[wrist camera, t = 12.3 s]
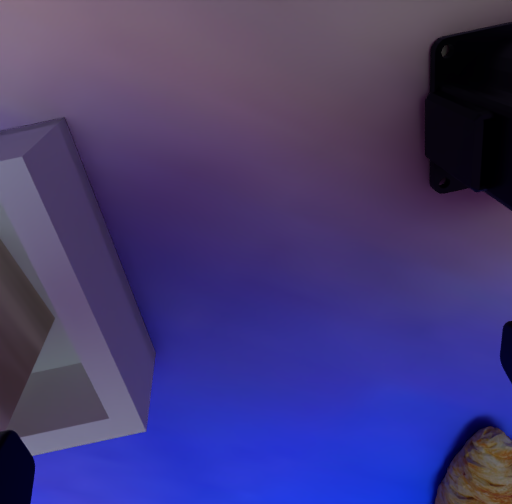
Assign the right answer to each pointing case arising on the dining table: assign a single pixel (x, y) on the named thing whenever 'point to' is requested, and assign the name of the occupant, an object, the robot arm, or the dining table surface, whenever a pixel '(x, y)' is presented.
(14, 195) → the box
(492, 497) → the croissant
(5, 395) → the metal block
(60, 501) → the dining table surface
